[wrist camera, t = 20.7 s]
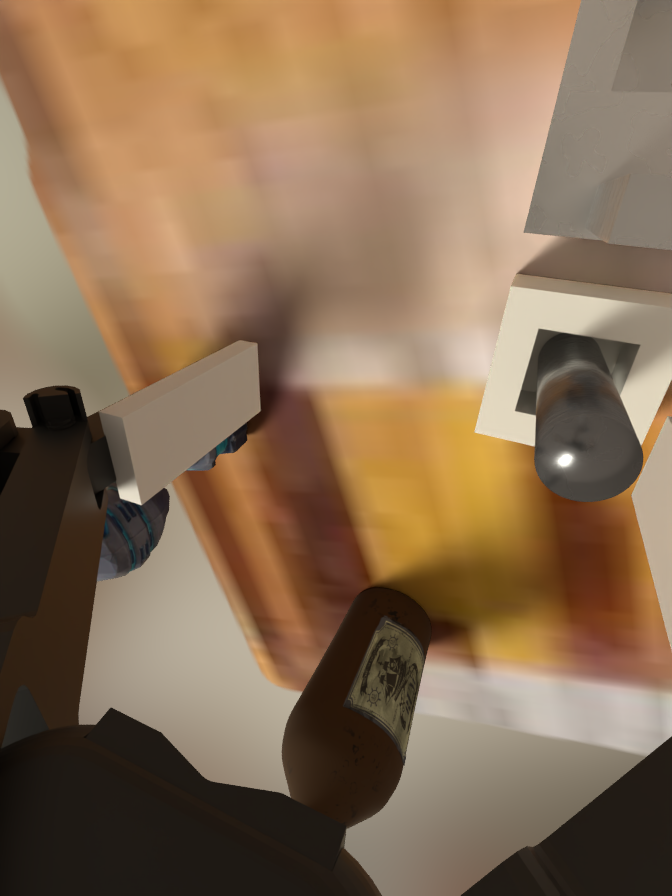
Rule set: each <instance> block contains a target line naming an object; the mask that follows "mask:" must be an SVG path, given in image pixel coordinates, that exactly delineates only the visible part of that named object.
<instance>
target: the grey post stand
mask: <svg viewBox="0 0 672 896" xmlns="http://www.w3.org/2000/svg"><path fill="white" fill-rule="evenodd" d="M524 233H533V234H543V235H553V236H563V237H572V238H582V239H592V240H602V241H605V242H606V243H608V244H616V245H625V246H635V247H644V248H654V249H664V250H672V0H581V4H580V8H579V12H578V16H577V20H576V24H575V28H574V32H573V36H572V40H571V44H570V48H569V52H568V56H567V60H566V64H565V68H564V72H563V76H562V80H561V84H560V88H559V92H558V96H557V101H556V105H555V109H554V113H553V117H552V121H551V125H550V129H549V133H548V137H547V141H546V145H545V149H544V153H543V157H542V161H541V165H540V169H539V173H538V177H537V181H536V185H535V189H534V193H533V197H532V201H531V205H530V209H529V213H528V217H527V221H526V225H525V229H524Z"/></svg>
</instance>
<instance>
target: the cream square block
mask: <svg viewBox="0 0 672 896" xmlns="http://www.w3.org/2000/svg"><path fill="white" fill-rule="evenodd" d="M563 332H564V333H570V334H576V335H583V336H589V337H592V338H593V339H594V340H595V341H596V342H597V344H598V345H599V347H600V350H601V352H602V354H603V357H604V359H605V361H606V364H607V366H608V369H609V371H610V373H611V376H612V378H613V380H614V383H615V385H616V388H617V390H618V392H619V395H620V397H621V399H622V402H623V404H624V407H625V409H626V411H627V414H628V416H629V418H630V421H631V423H632V426H633V428H634V430H635V433H636V435H637V437H638V440H639V442H640V445H642V443H643V441H644V439H645V437H646V434H647V432H648V430H649V428H650V426H651V424H652V421H653V419H654V417H655V415H656V413H657V410H658V408H659V406H660V404H661V402H662V400H663V397H664V395H665V393H666V391H667V389H668V386H669V384H670V382H671V380H672V294H671V293H663V292H655V291H648V290H640V289H632V288H624V287H617V286H609V285H601V284H593V283H585V282H578V281H570V280H562V279H554V278H547V277H539V276H531V275H523V274H516V276H515V278H514V280H513V282H512V285H511V288H510V292H509V296H508V300H507V304H506V308H505V312H504V316H503V320H502V324H501V328H500V332H499V336H498V340H497V344H496V348H495V352H494V356H493V360H492V364H491V368H490V372H489V376H488V380H487V384H486V388H485V392H484V396H483V400H482V404H481V408H480V412H479V416H478V420H477V424H476V428H475V433H479V434H484V435H488V436H492V437H497V438H501V439H505V440H510V441H514V442H518V443H522V444H527V445H531V446H535V429H536V400H537V371H538V356H539V353H540V351H541V349H542V347H543V346H544V344H545V343H546V342H547V341H548V340H549V339H551V338H552V337H554V336H556V335H558V334H560V333H563Z"/></svg>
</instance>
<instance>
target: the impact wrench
mask: <svg viewBox="0 0 672 896" xmlns="http://www.w3.org/2000/svg"><path fill="white" fill-rule="evenodd" d="M246 431H247V422H246V423H245V424H244V425H242V426H241V427H240V428H239V429H237V430H236V431H235V432H234V433H232V434H231V435H230V436H228V437H227V438H226V439H225V440H223V441H222V442H221V443H220V444H218V445H217V446H216V447H215V448H213V449H212V450H211V451H210V452H208V453H207V454H206V455H204V456H203V457H202V458H201V459H199V460H198V461H197V462H196V463H194V464H193V465H192V466H191V467H189V468H188V469H187V470H209V469H211V468H213V467H214V466H215V465H216V464H215V460H216V458H217V456H218V455H219V454H225V453H234V452H236V451H237V450H238V449H239V448H240V447H241V446H242V445H243V444H244V443H245V442H246V441H247V434H246ZM106 491H107V495H108V505H107V512H106V519H105V526H104V533H103V540H102V548H101V555H100V562H99V569H98V576H97V581H102V580H108V579H114V578H118V577H122V576H125V575H126V574H128V573H129V572H130V571H132V570H135V569H137V568H139V567H141V566H142V565H143V564H144V562H145V561H146V560H147V559H148V558H149V556H150V552H151V551H152V550H153V549H154V548H155V547H156V546H157V544H158V542H159V540H160V538H161V535H162V533H163V529H164V525H165V521H166V516H167V513H168V511H169V497H170V496H169V493H168V491H167V489H165V488H163V489H162V490H160V491H159V492H158V493H156V494H155V495H154V496H153V497H151V498H150V499H149V500H148V501H146V502H145V503H144V504H143V505H139V504H136V503H133V502H130V501H127V500H124V499H121V498H120V496H119V492H118V488H117V484H116V481H115V482H113V483H112V484H110V485H109V486H108V487H106Z"/></svg>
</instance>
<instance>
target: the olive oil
mask: <svg viewBox="0 0 672 896" xmlns="http://www.w3.org/2000/svg"><path fill="white" fill-rule="evenodd" d="M430 638H431V624H430V621H429V618H428V616H427V615H426V613H425V612H424V610H423V609H422V608H421V607H420V606H419V605H418V604H417V603H416V602H415V601H414V600H412V599H411V598H409V597H408V596H406V595H404V594H402V593H400V592H397V591H394V590H391V589H385V588H373V589H368V590H365V591H363V592H361V593H360V594H359V595H358V596H357V597H356V598H355V600H354V601H353V603H352V605H351V607H350V609H349V610H348V612H347V614H346V616H345V618H344V620H343V622H342V624H341V625H340V627H339V629H338V631H337V633H336V635H335V636H334V638H333V640H332V642H331V644H330V645H329V647H328V649H327V651H326V652H325V654H324V656H323V658H322V660H321V661H320V663H319V665H318V667H317V668H316V670H315V672H314V674H313V675H312V677H311V679H310V681H309V682H308V684H307V686H306V688H305V689H304V691H303V693H302V695H301V696H300V698H299V700H298V701H297V703H296V705H295V707H294V708H293V710H292V712H291V714H290V716H289V719H288V721H287V724H286V728H285V732H284V738H283V744H282V761H283V767H284V771H285V776H286V780H287V783H288V787H289V792H290V796H291V798H292V799H294V800H296V801H298V802H300V803H302V804H304V805H306V806H308V807H310V808H312V809H314V810H316V811H318V812H320V813H322V814H324V815H326V816H328V817H330V818H332V819H334V820H336V821H338V822H340V823H342V824H344V825H346V826H347V828H349V827H352V826H354V825H356V824H358V823H360V822H362V821H364V820H366V819H367V818H370V817H372V816H373V815H375V814H376V813H377V812H379V811H380V810H381V809H382V808H383V807H384V806H385V805H386V803H387V802H388V800H389V798H390V797H391V796H392V794H393V792H394V791H395V789H396V787H397V785H398V783H399V780H400V777H401V774H402V770H403V765H404V764H405V759H406V749H407V744H408V740H409V735H410V729H411V725H412V720H413V715H414V710H415V705H416V701H417V696H418V691H419V686H420V682H421V677H422V672H423V668H424V664H425V659H426V655H427V651H428V647H429V642H430ZM347 828H346V829H347Z"/></svg>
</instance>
